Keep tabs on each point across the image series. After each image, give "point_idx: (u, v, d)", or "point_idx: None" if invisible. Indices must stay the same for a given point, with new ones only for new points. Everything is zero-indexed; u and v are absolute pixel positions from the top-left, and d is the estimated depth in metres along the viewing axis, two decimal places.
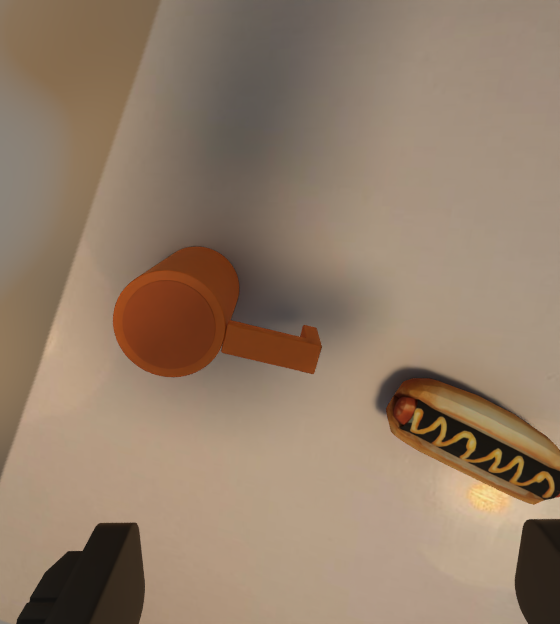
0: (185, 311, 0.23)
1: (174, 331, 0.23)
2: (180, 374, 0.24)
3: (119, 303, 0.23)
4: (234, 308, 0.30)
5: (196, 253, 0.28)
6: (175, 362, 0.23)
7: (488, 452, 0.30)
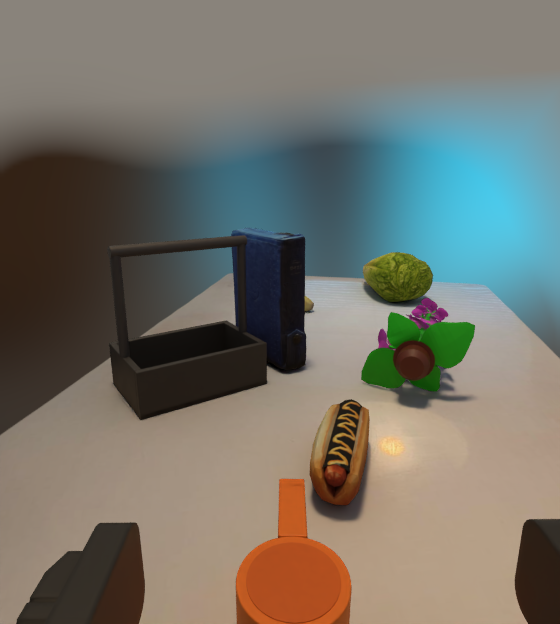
0: (275, 569, 0.23)
1: (298, 573, 0.23)
2: (341, 562, 0.23)
3: None
4: None
5: None
6: (330, 567, 0.23)
7: (341, 428, 0.43)
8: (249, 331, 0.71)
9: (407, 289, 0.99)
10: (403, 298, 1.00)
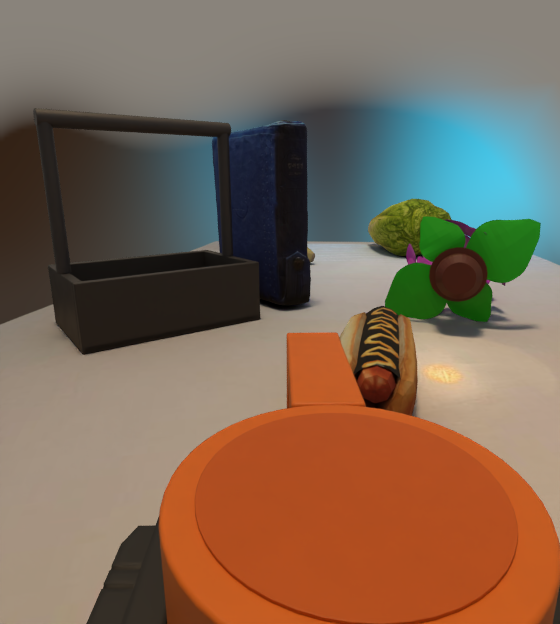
0: (288, 466, 0.08)
1: (360, 473, 0.07)
2: (481, 448, 0.08)
3: None
4: None
5: None
6: (453, 457, 0.08)
7: (376, 329, 0.28)
8: None
9: None
10: (419, 249, 0.86)
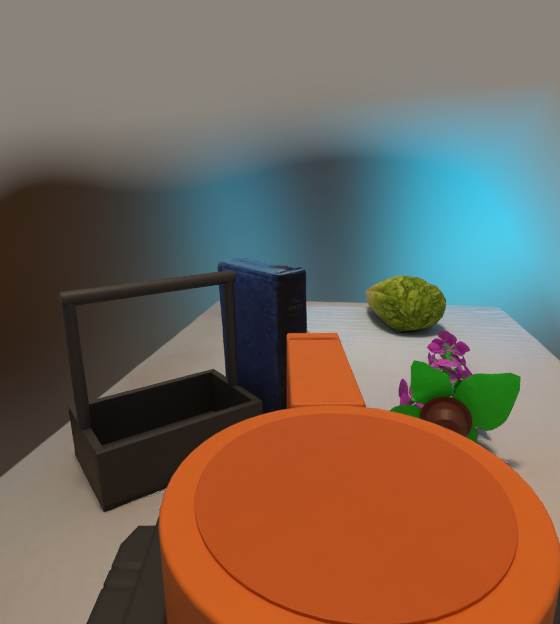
0: (288, 467, 0.08)
1: (360, 474, 0.07)
2: (482, 449, 0.08)
3: None
4: None
5: None
6: (454, 457, 0.08)
7: None
8: (241, 381, 0.60)
9: (418, 317, 0.88)
10: (414, 328, 0.90)
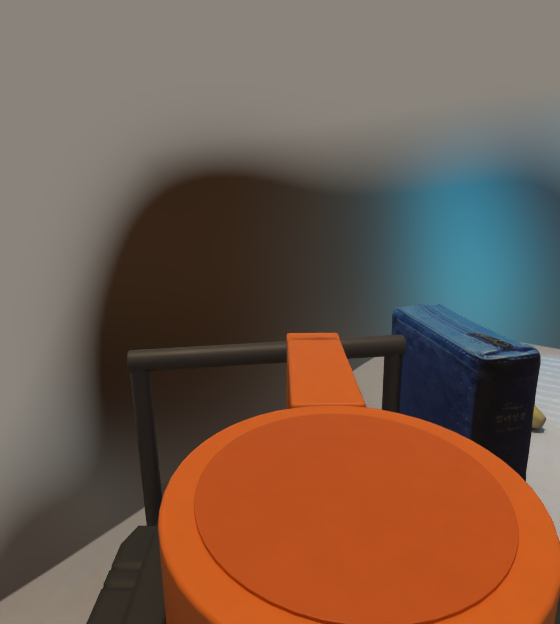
0: (288, 467, 0.08)
1: (360, 475, 0.07)
2: (482, 448, 0.08)
3: None
4: None
5: None
6: (454, 458, 0.08)
7: None
8: None
9: None
10: None
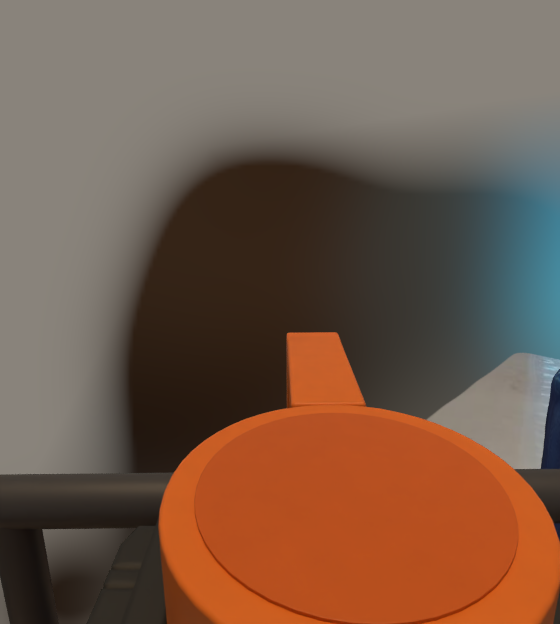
0: (288, 466, 0.08)
1: (360, 474, 0.07)
2: (481, 448, 0.08)
3: None
4: None
5: None
6: (454, 458, 0.08)
7: None
8: None
9: None
10: None
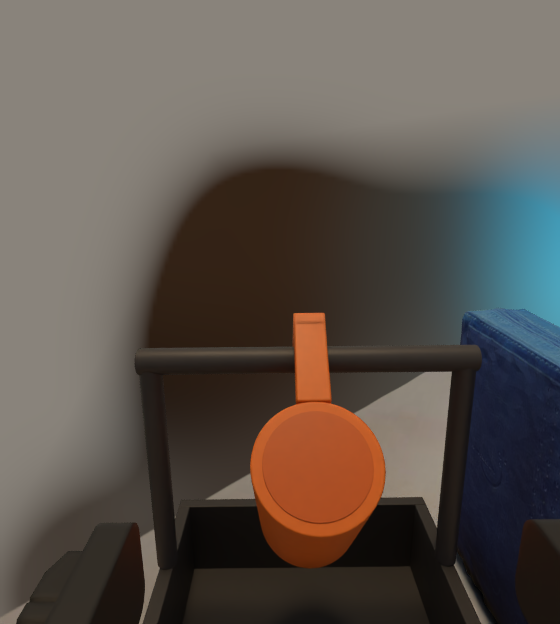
0: (295, 449, 0.20)
1: (322, 455, 0.19)
2: (373, 438, 0.20)
3: (307, 530, 0.18)
4: None
5: None
6: (360, 446, 0.19)
7: None
8: (472, 538, 0.32)
9: None
10: None
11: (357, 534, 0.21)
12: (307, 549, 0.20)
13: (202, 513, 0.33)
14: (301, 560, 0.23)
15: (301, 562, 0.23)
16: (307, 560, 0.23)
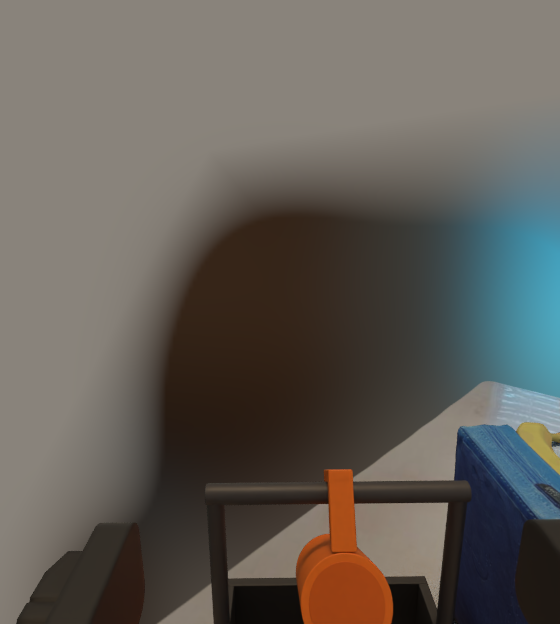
0: (331, 592, 0.28)
1: (350, 598, 0.28)
2: (386, 584, 0.28)
3: None
4: None
5: (297, 585, 0.33)
6: (376, 590, 0.28)
7: None
8: (465, 612, 0.39)
9: None
10: None
11: None
12: None
13: (244, 590, 0.40)
14: None
15: None
16: None
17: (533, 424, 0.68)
